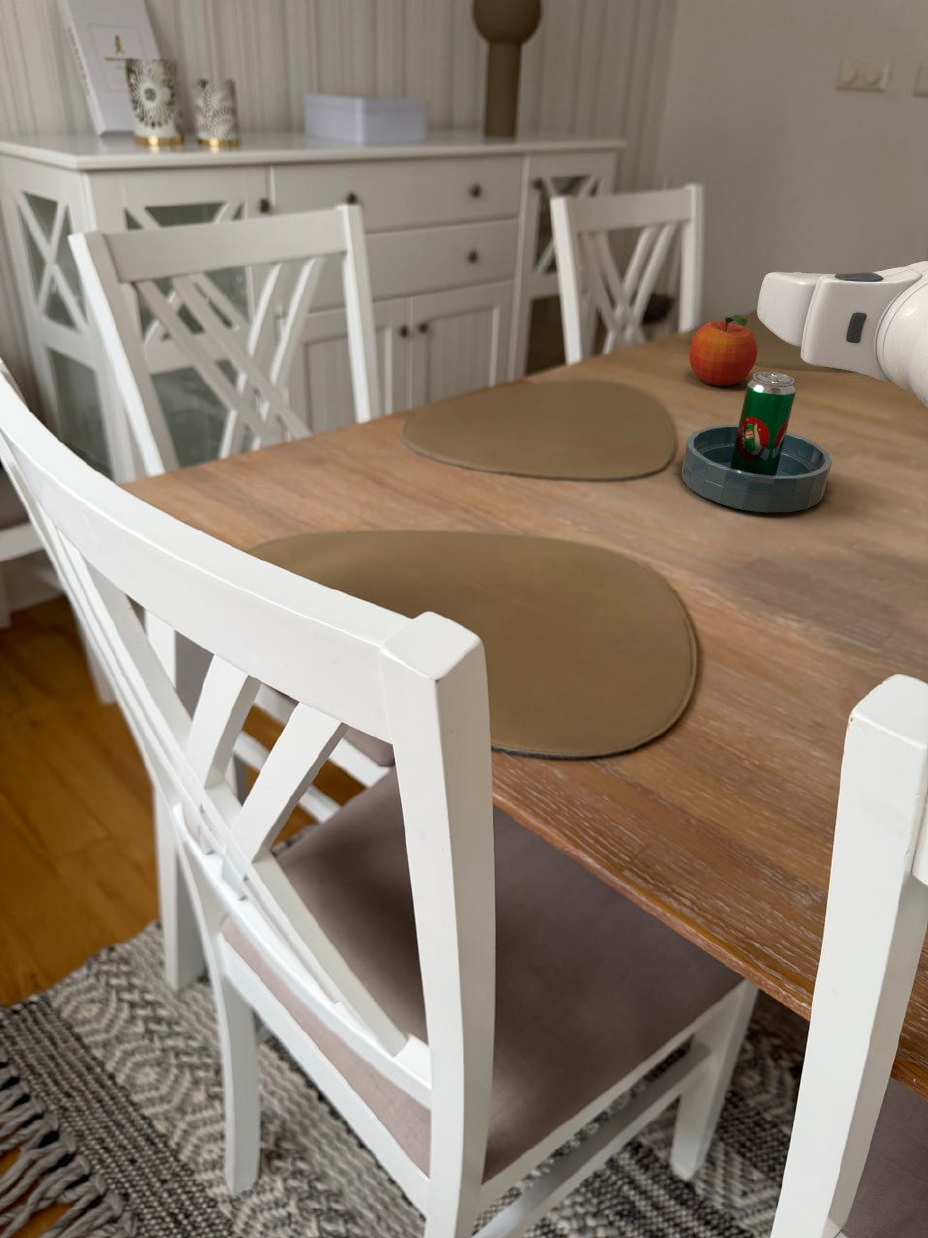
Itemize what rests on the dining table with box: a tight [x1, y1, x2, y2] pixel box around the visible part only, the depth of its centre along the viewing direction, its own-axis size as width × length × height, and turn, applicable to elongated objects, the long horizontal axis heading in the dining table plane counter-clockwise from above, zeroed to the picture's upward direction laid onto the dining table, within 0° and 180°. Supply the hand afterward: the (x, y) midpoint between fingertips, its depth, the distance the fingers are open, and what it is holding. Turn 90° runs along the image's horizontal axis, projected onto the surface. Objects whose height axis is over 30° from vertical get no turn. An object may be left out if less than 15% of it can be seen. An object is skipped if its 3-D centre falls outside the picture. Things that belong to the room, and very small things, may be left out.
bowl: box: [681, 424, 833, 513], centre depth 105 cm, size 15×15×4 cm
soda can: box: [730, 371, 797, 476], centre depth 103 cm, size 5×5×12 cm
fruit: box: [688, 314, 758, 387], centre depth 136 cm, size 10×10×10 cm
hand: (851, 283), depth 83 cm, fingers open, 8 cm apart
